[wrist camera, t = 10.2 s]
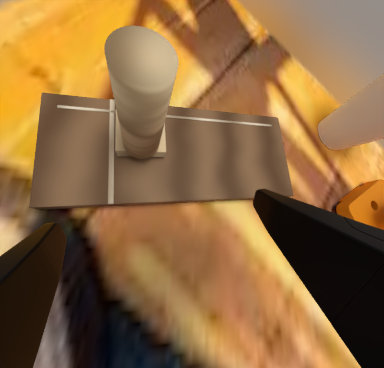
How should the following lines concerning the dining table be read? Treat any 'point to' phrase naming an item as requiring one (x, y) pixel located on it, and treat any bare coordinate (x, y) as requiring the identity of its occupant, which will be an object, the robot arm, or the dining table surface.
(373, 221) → the bracket
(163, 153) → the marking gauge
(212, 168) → the walnut board
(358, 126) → the foam cup
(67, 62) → the dining table surface
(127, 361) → the dining table surface
